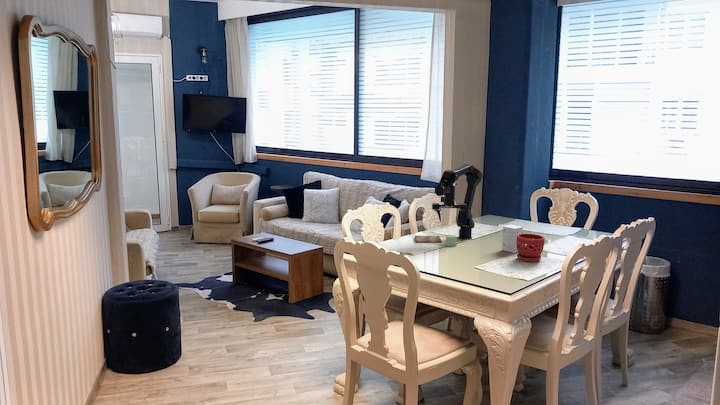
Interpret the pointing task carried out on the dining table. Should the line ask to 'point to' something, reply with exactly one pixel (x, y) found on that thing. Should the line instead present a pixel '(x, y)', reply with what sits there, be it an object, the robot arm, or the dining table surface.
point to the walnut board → (428, 239)
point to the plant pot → (530, 247)
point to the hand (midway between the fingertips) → (448, 221)
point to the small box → (510, 238)
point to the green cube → (451, 240)
